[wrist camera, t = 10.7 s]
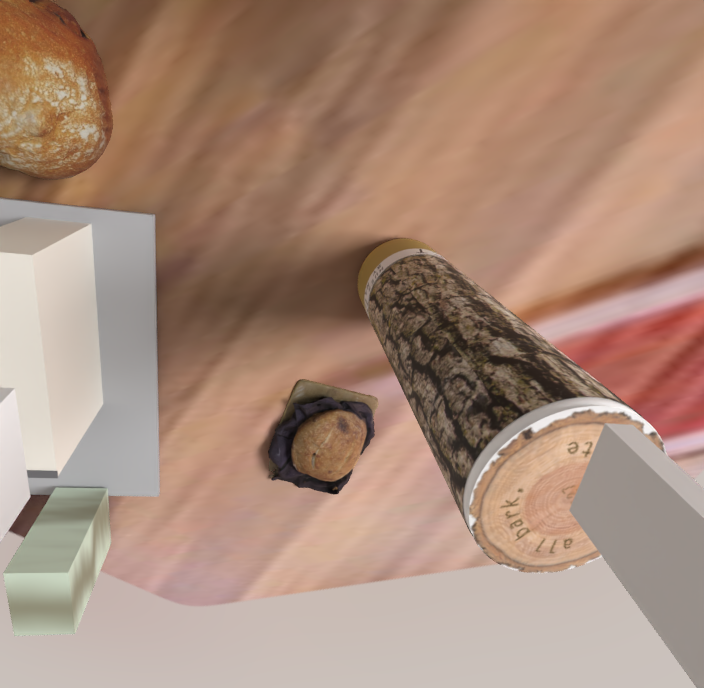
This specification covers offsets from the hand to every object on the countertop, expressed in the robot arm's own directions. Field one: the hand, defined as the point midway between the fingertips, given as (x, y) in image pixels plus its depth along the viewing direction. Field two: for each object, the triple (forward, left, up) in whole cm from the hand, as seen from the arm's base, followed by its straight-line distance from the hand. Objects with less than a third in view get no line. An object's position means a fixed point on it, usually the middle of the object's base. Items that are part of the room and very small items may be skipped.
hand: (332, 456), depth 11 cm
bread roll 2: (+18, +4, -28) cm, 34 cm away
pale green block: (+26, -16, -27) cm, 40 cm away
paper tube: (+3, +8, -28) cm, 29 cm away
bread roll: (-7, -17, -28) cm, 33 cm away
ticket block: (+11, -16, -27) cm, 33 cm away
